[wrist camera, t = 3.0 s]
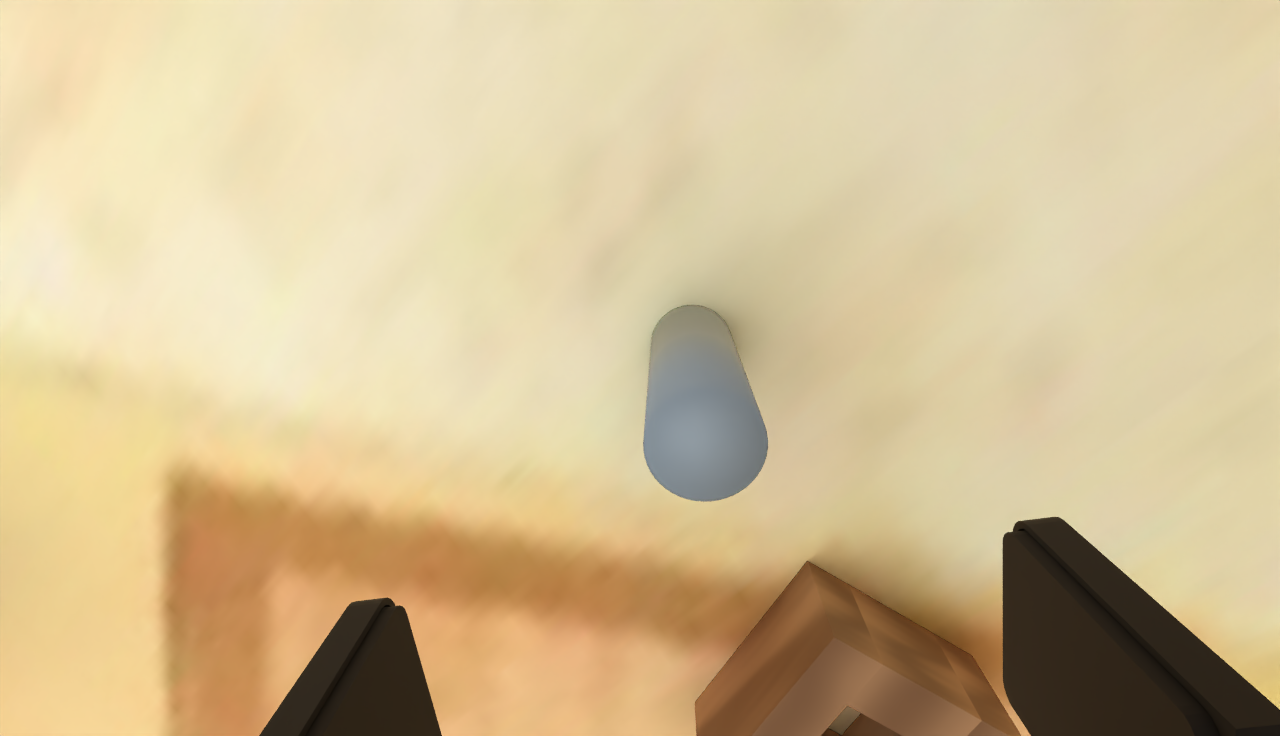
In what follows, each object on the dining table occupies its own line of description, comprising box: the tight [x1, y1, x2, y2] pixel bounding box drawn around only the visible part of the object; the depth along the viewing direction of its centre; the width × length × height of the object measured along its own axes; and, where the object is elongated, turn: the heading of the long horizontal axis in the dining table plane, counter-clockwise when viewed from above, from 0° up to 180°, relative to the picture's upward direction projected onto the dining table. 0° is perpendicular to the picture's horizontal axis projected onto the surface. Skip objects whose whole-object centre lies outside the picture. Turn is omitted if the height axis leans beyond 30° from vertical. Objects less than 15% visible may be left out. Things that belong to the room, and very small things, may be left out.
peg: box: [643, 305, 768, 501], centre depth 23 cm, size 3×3×10 cm
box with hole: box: [695, 561, 1021, 736], centre depth 29 cm, size 9×9×5 cm
